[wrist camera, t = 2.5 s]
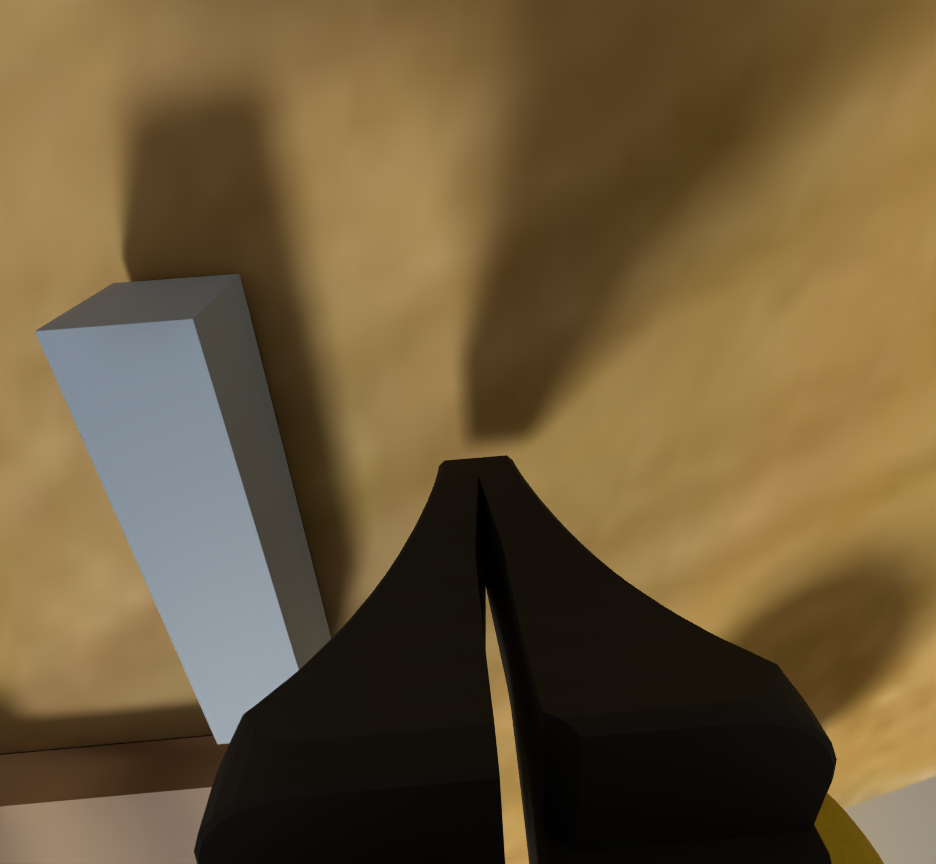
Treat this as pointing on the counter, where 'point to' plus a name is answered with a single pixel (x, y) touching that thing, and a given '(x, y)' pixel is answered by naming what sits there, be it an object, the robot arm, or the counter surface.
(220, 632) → the hinged leg
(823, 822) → the lemon
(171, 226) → the counter surface
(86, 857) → the board
